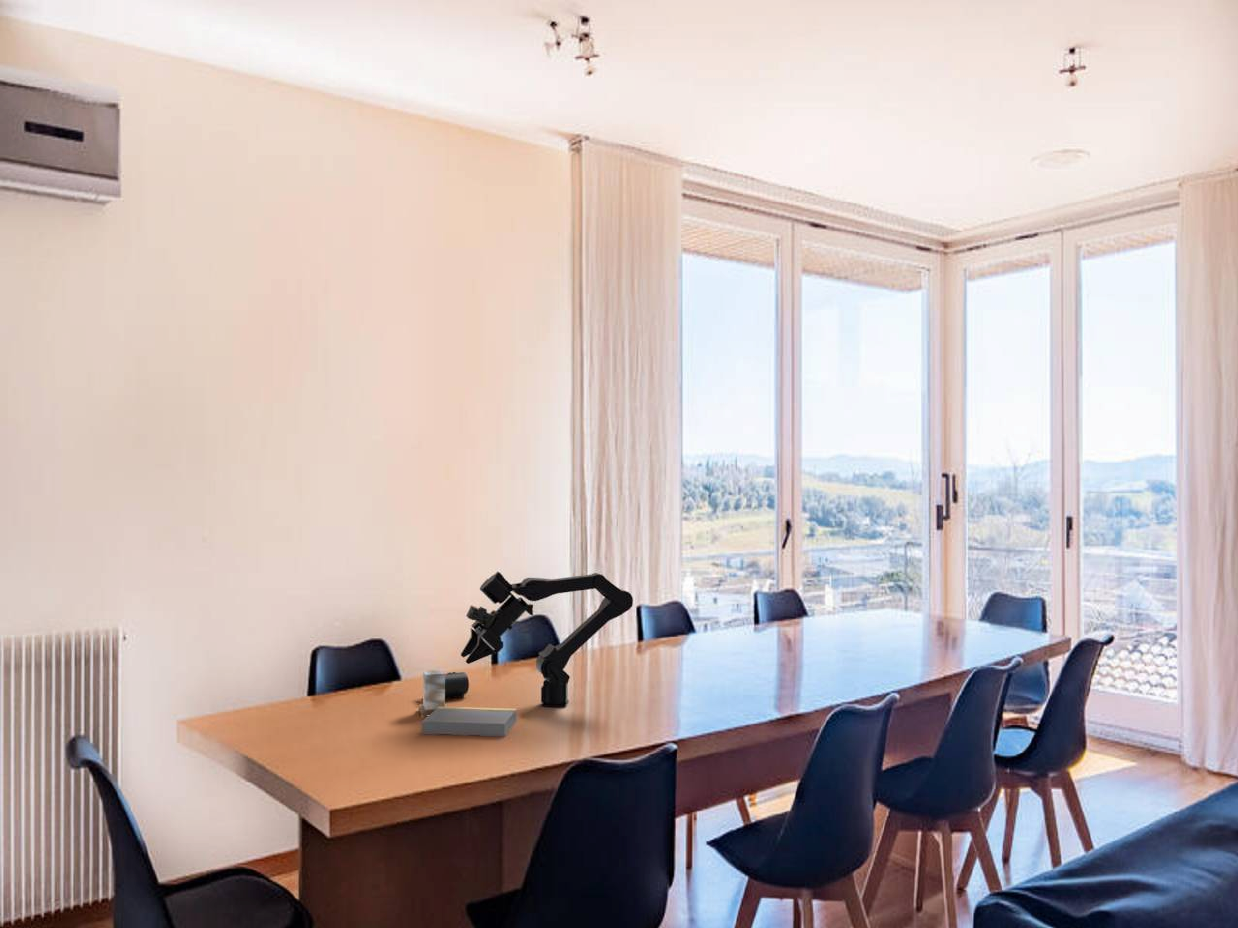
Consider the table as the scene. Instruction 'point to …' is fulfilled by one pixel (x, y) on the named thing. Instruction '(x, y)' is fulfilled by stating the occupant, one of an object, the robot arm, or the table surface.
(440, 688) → the wrapped pallet load
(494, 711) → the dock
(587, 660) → the table surface
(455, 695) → the end cap
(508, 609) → the robot arm
